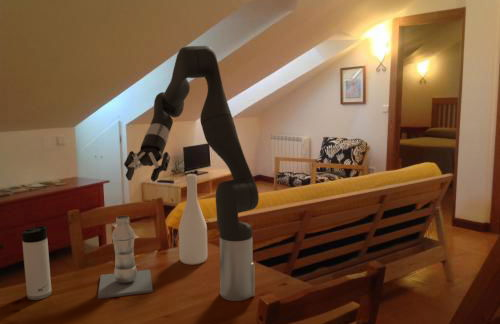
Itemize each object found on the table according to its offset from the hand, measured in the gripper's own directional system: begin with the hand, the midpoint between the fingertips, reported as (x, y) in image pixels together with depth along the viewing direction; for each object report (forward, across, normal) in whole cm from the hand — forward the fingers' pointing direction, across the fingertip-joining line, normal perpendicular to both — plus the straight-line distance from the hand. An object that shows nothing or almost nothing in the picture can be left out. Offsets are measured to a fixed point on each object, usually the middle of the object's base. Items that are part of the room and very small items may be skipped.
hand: (140, 179), depth 135 cm
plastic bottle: (+29, 0, +13) cm, 31 cm away
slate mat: (+29, 0, +13) cm, 32 cm away
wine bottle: (+13, +13, +29) cm, 35 cm away
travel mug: (+38, -20, +4) cm, 43 cm away
